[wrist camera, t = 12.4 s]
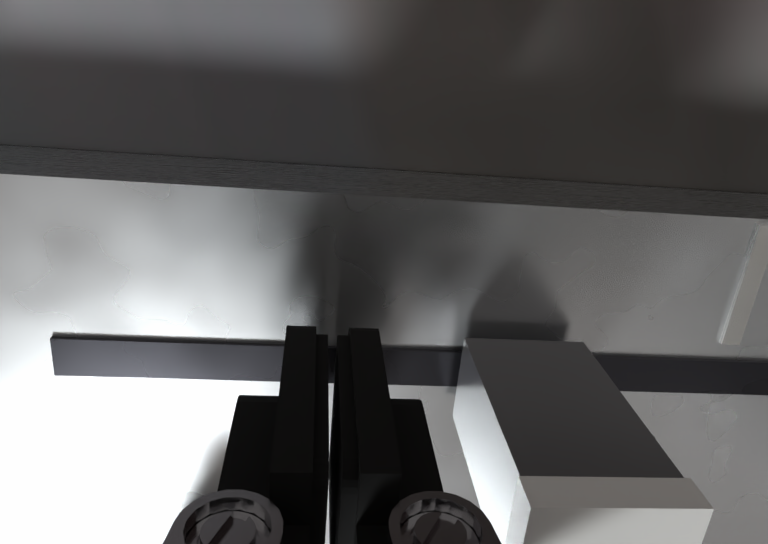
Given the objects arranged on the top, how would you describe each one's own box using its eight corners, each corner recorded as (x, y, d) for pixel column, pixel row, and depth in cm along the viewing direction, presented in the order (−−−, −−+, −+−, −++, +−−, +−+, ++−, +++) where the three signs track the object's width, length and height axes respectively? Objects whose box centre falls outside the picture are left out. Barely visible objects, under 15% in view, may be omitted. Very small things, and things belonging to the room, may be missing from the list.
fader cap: (586, 340, 13) (714, 508, 9) (567, 420, 14) (677, 612, 9) (462, 335, 13) (530, 507, 8) (449, 417, 13) (507, 614, 9)
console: (1070, 213, 15) (1244, 265, 12) (855, 633, 21) (942, 738, 18) (-117, 137, 13) (-252, 181, 10) (-11, 646, 18) (-77, 773, 15)
